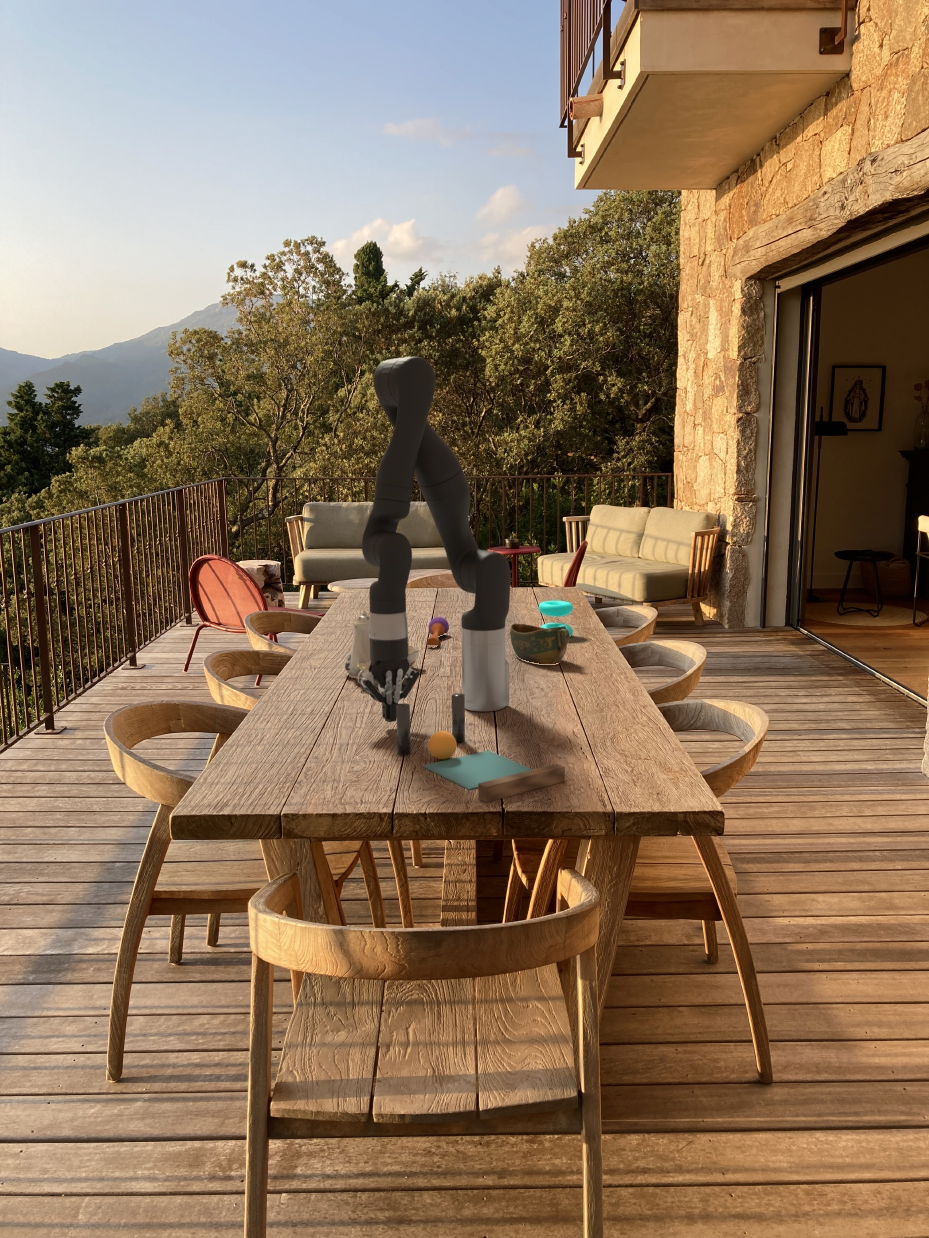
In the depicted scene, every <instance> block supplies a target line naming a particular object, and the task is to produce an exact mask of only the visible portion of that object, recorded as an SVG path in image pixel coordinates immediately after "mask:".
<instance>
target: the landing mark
mask: <svg viewBox="0 0 929 1238" xmlns="http://www.w3.org/2000/svg"><path fill="white" fill-rule="evenodd" d="M422 767H423V768H424V769H427V770H429V771H431V772H433V773H434V774H437V775H439V776H441V777H442V778H445V779H447V780H448V781H451V782H452V783H454V784H457V785H458V786H460V787H463V788H464V789H466V790H468V791H470V790H474V789H478V783H482V782H486V781H490V780H494V779H498V778H502V777H506V776H510V775H514V774H518V773H522V772H526V771H530V770H533V769H532V768H530V767H528V766H525V765H524V764H520V763H519V762H516V761H514V760H512V759H509V758H507V757H504V756H502V755H500V754H497V753H495V752H493V751H490V750H484V751H479V752H475V753H472V754H466V755H463V756H462V755H461V756H457V757H455V758H454V757H453V758H450V759H449V758H448V759H443V760H440V761H436V762H431V763H428V764H424V765H422Z"/></svg>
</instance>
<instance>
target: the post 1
mask: <svg viewBox="0 0 929 1238" xmlns="http://www.w3.org/2000/svg"><path fill="white" fill-rule="evenodd" d="M396 711H397V718H396V743H397V744H396V745H397V746H396V747H397V755H398V756H401V757H403V756H404V757H406V756H410V755H411V754H412V747H411V704H409V703H405V702H404V703H398V704H397V705H396Z"/></svg>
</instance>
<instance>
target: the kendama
mask: <svg viewBox="0 0 929 1238" xmlns="http://www.w3.org/2000/svg"><path fill="white" fill-rule="evenodd" d="M449 629H450V624H449V622H448V620H447V619H445V618H444V617H442V616H436V617H434V618H431V620H429V624H428V631H429V634H430V637H429V638H428V639H427V641H426V646H427V645H438V646H439V642H440V641H439V637H438V636H440V635H443V634H444V633H447V634H448V633H449Z"/></svg>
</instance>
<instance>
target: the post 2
mask: <svg viewBox="0 0 929 1238" xmlns="http://www.w3.org/2000/svg"><path fill="white" fill-rule="evenodd" d="M465 710H466V709H465V695H464V694H462V692H460V693H459V692H458V693H452V694H451V734H452V735H453V736H454V738H455V740H456V744H464V743H465V742H466V718H465V717H466V715H465V714H466V711H465Z"/></svg>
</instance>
